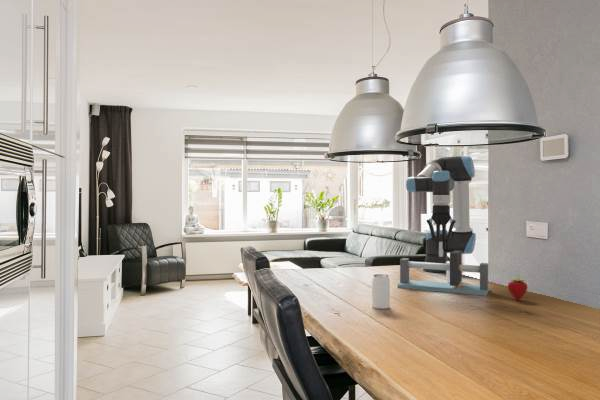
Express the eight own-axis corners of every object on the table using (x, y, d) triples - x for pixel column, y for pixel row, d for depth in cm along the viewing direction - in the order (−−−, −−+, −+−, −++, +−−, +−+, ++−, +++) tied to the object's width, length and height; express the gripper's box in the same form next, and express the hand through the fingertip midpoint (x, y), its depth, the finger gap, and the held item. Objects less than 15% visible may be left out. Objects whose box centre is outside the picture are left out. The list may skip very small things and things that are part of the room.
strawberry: (504, 298, 185) (504, 274, 185) (522, 298, 186) (522, 274, 186) (512, 301, 179) (512, 276, 179) (530, 301, 180) (530, 276, 180)
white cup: (465, 284, 218) (465, 263, 218) (448, 283, 218) (448, 263, 218) (459, 281, 225) (459, 261, 225) (443, 281, 226) (443, 261, 226)
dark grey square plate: (449, 285, 198) (449, 253, 198) (454, 280, 210) (454, 250, 210) (457, 286, 196) (457, 253, 196) (461, 281, 209) (461, 250, 209)
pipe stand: (397, 287, 208) (397, 260, 208) (405, 282, 221) (405, 257, 221) (486, 295, 191) (486, 266, 191) (489, 289, 203) (489, 262, 203)
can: (392, 308, 167) (392, 276, 167) (376, 309, 166) (376, 277, 166) (385, 305, 174) (385, 273, 174) (369, 305, 172) (369, 274, 172)
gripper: (424, 204, 206) (424, 256, 206) (454, 204, 200) (454, 258, 200) (428, 204, 212) (428, 254, 213) (457, 204, 206) (457, 256, 207)
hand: (441, 256), depth 206 cm, fingers closed
